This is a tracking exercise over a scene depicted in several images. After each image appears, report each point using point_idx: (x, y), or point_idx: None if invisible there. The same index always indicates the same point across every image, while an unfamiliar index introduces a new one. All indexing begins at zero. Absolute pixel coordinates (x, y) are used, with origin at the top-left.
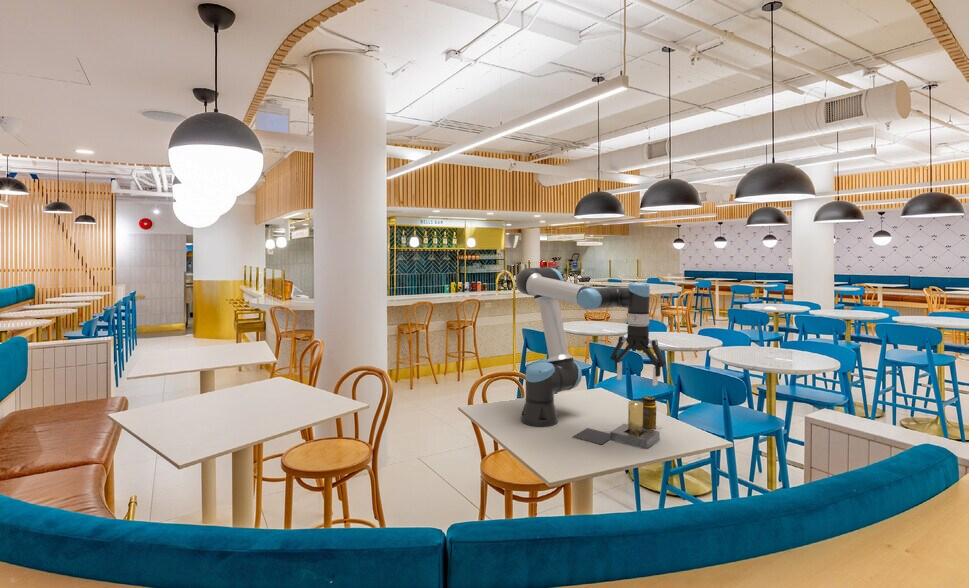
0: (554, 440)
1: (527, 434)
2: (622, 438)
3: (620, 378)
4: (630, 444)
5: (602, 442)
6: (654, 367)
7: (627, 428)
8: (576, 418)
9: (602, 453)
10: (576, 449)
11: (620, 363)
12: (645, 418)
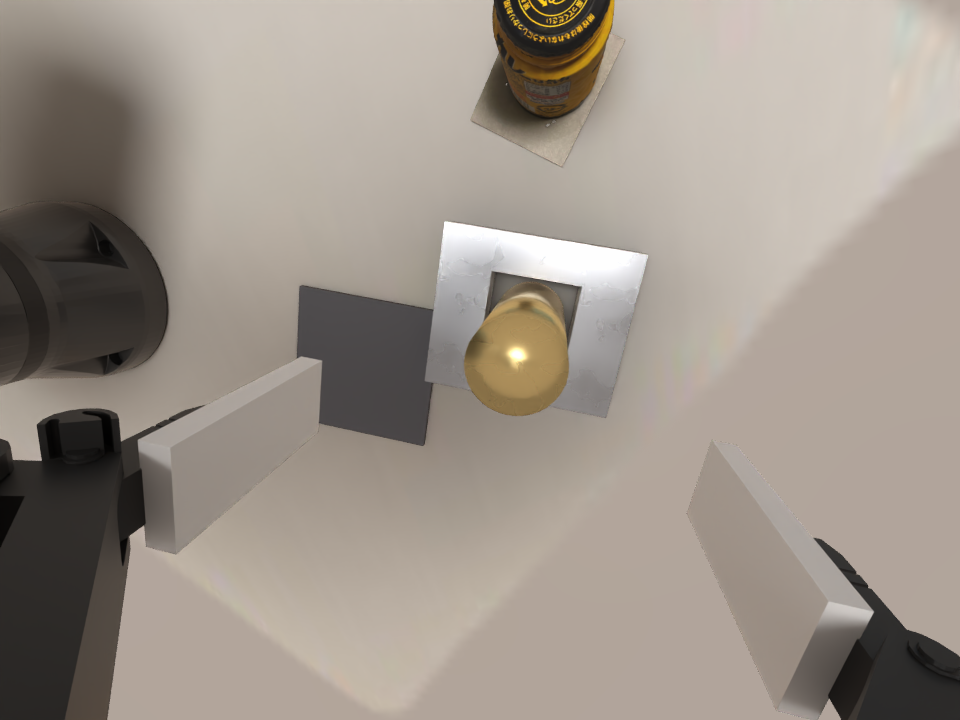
0: None
1: None
2: None
3: (316, 397)
4: None
5: (420, 428)
6: (802, 686)
7: (482, 293)
8: (192, 156)
9: (454, 517)
10: (362, 519)
11: (188, 497)
12: (544, 104)
